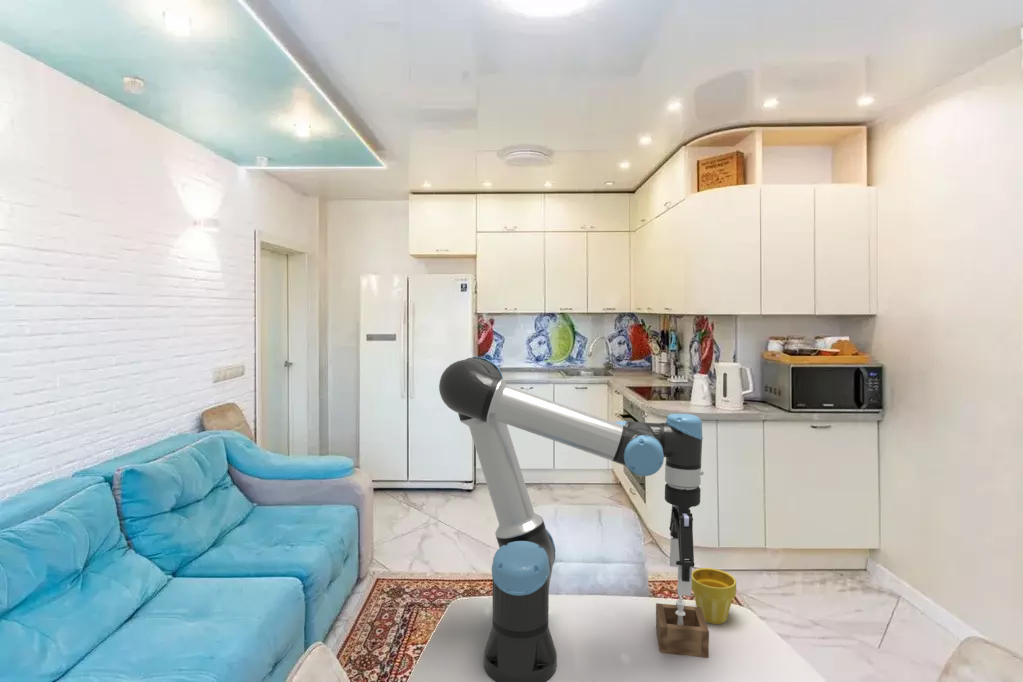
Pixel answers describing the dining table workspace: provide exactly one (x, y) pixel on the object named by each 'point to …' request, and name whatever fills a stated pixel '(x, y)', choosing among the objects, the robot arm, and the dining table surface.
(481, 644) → the dining table surface
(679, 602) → the chess piece
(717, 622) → the plant pot
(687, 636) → the walnut holder
